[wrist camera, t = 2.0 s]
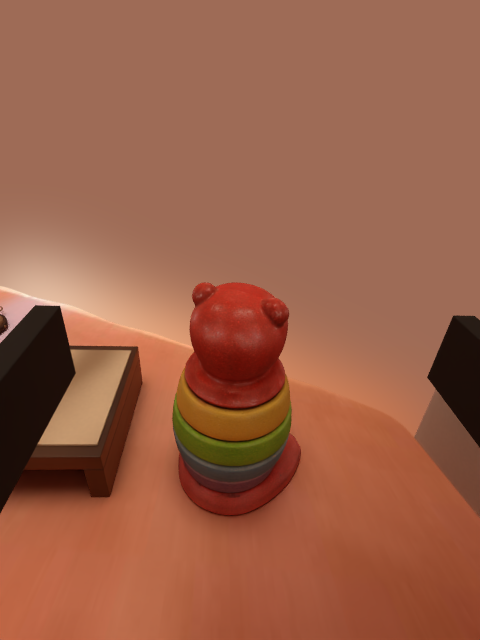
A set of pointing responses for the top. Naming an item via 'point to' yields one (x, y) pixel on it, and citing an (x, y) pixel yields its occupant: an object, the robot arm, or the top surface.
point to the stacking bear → (235, 401)
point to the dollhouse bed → (92, 416)
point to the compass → (2, 322)
